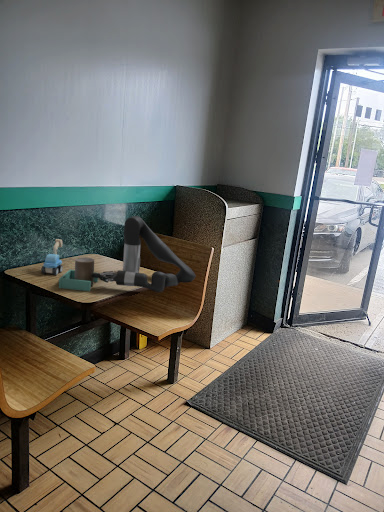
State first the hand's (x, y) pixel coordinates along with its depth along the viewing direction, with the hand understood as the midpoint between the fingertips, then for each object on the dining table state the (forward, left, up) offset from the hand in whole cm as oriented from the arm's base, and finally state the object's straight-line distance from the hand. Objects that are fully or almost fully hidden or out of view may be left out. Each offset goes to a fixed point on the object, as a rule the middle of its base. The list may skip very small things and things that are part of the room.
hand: (92, 274), depth 218 cm
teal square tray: (+7, -3, -6) cm, 10 cm away
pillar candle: (+4, -3, -7) cm, 8 cm away
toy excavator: (+19, -26, -7) cm, 33 cm away
